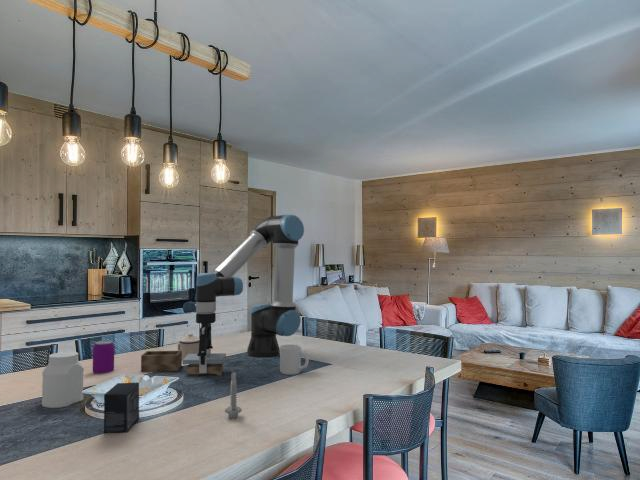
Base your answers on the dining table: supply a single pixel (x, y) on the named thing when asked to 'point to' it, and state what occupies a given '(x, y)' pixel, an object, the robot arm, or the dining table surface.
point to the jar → (62, 380)
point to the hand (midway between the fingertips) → (205, 369)
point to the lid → (211, 358)
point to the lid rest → (210, 369)
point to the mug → (292, 359)
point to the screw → (233, 399)
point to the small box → (121, 407)
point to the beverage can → (103, 357)
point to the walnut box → (161, 361)
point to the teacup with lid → (189, 345)
